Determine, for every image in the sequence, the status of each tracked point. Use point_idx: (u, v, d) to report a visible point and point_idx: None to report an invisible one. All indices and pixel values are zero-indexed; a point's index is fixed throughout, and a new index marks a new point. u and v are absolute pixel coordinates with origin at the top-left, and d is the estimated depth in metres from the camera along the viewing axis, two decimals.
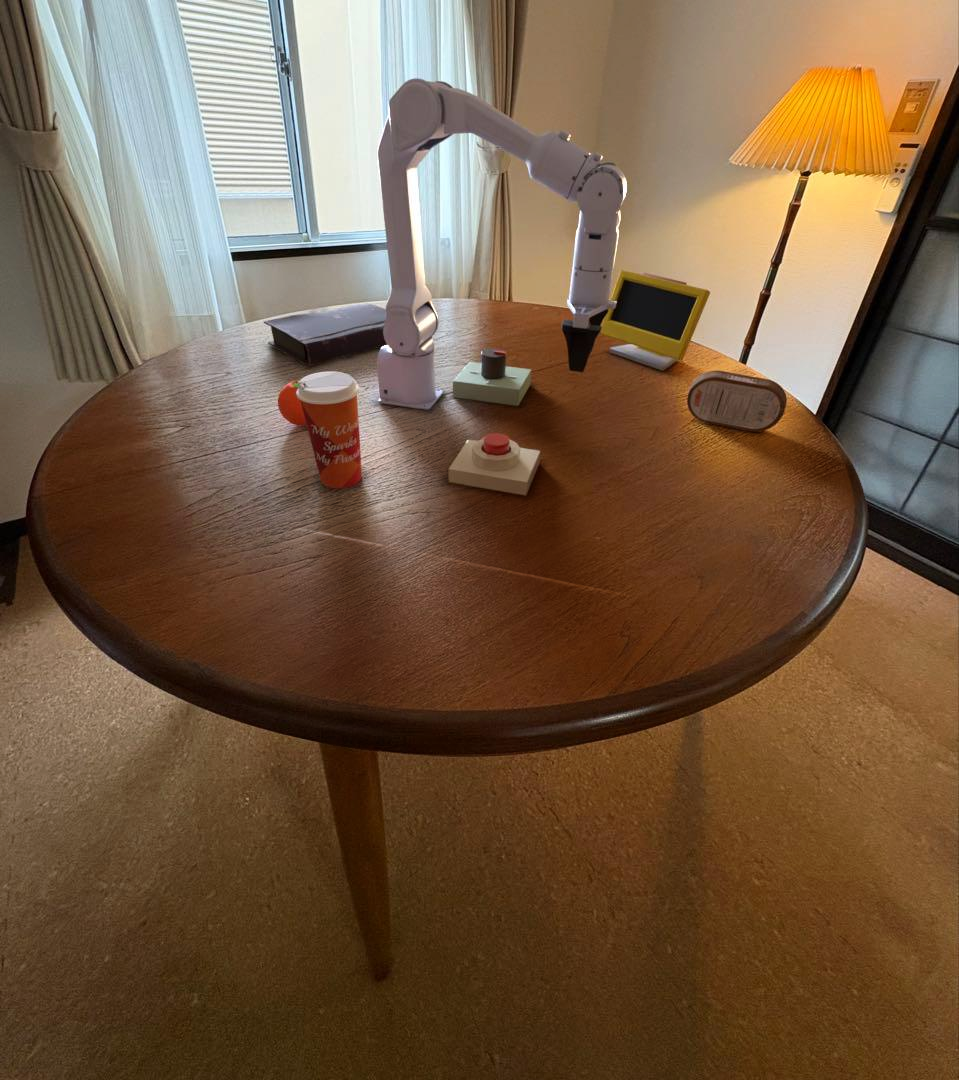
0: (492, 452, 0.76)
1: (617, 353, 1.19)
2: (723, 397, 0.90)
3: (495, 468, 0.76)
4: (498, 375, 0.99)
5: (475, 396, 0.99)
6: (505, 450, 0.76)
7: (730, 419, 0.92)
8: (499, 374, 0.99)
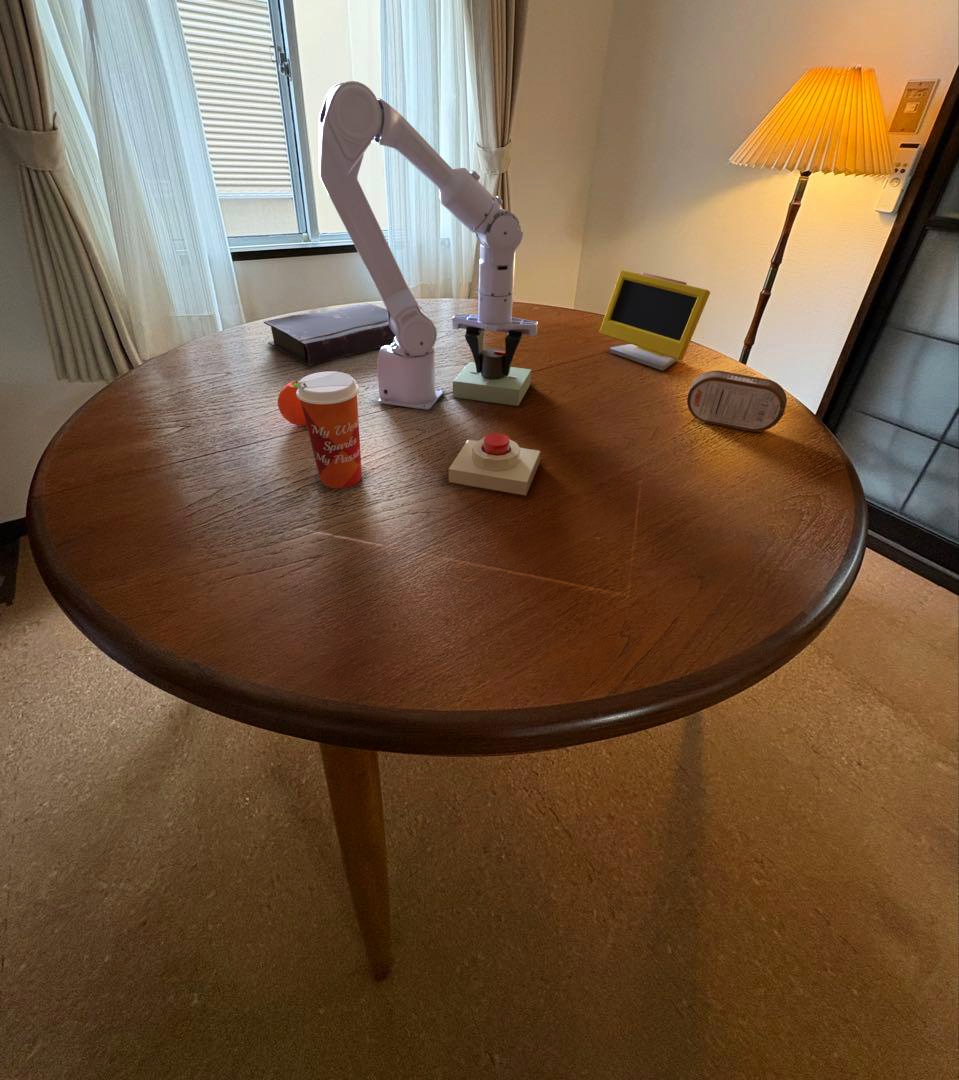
0: (492, 452, 0.76)
1: (617, 353, 1.19)
2: (723, 397, 0.90)
3: (495, 468, 0.76)
4: (498, 375, 0.99)
5: (475, 396, 0.99)
6: (505, 450, 0.76)
7: (730, 419, 0.92)
8: (499, 374, 0.99)
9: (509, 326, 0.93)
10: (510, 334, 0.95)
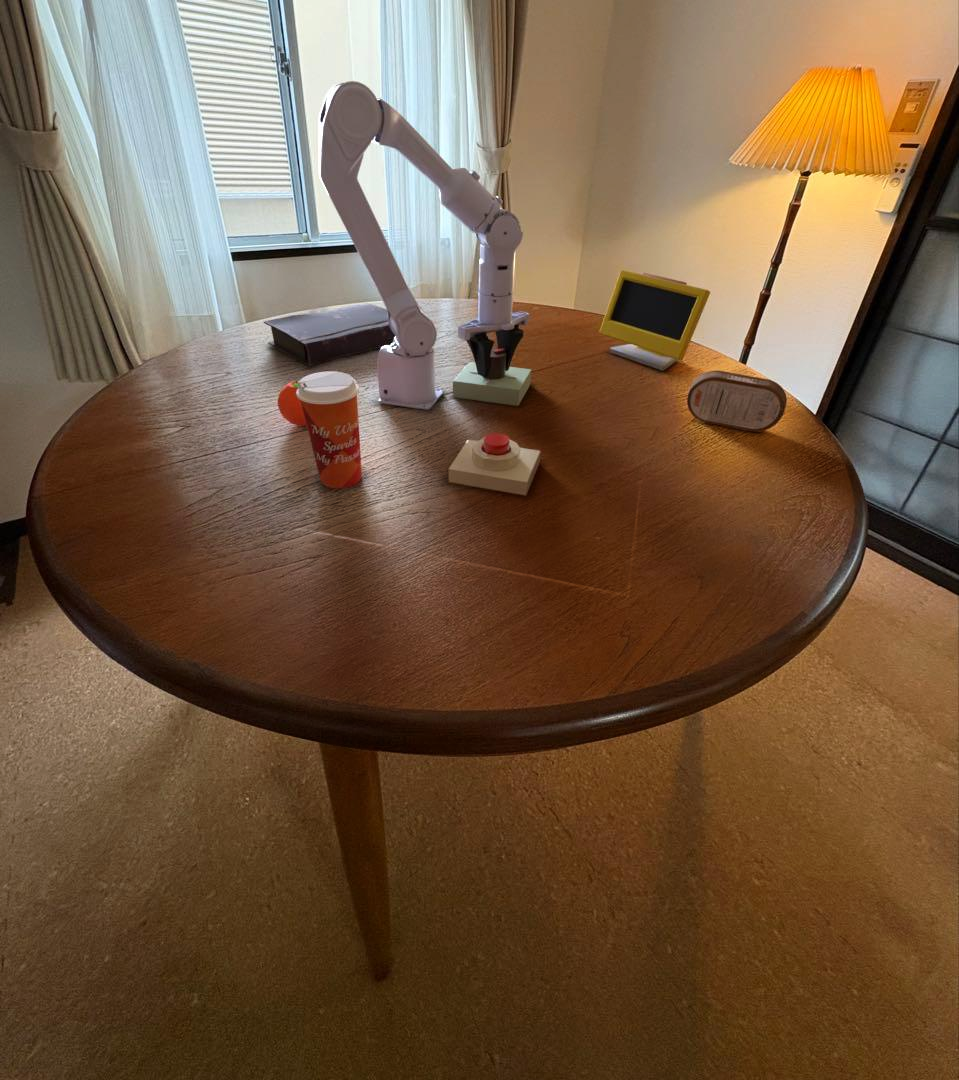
0: (492, 452, 0.76)
1: (617, 353, 1.19)
2: (723, 397, 0.90)
3: (495, 468, 0.76)
4: None
5: (475, 396, 0.99)
6: (505, 450, 0.76)
7: (730, 419, 0.92)
8: (505, 370, 1.00)
9: (516, 321, 0.95)
10: (510, 329, 0.97)
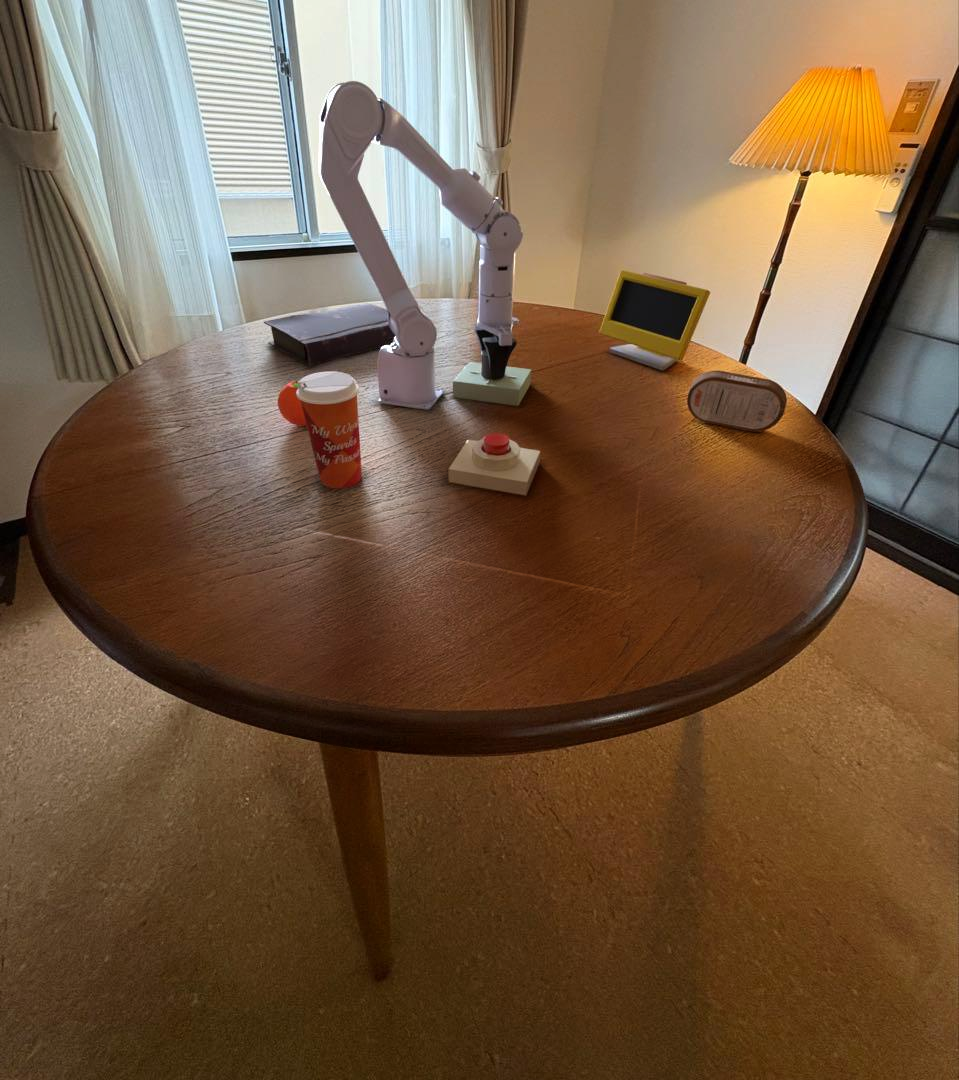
0: (492, 452, 0.76)
1: (617, 353, 1.19)
2: (723, 397, 0.90)
3: (495, 468, 0.76)
4: None
5: (475, 396, 0.99)
6: (505, 450, 0.76)
7: (730, 419, 0.92)
8: None
9: None
10: None
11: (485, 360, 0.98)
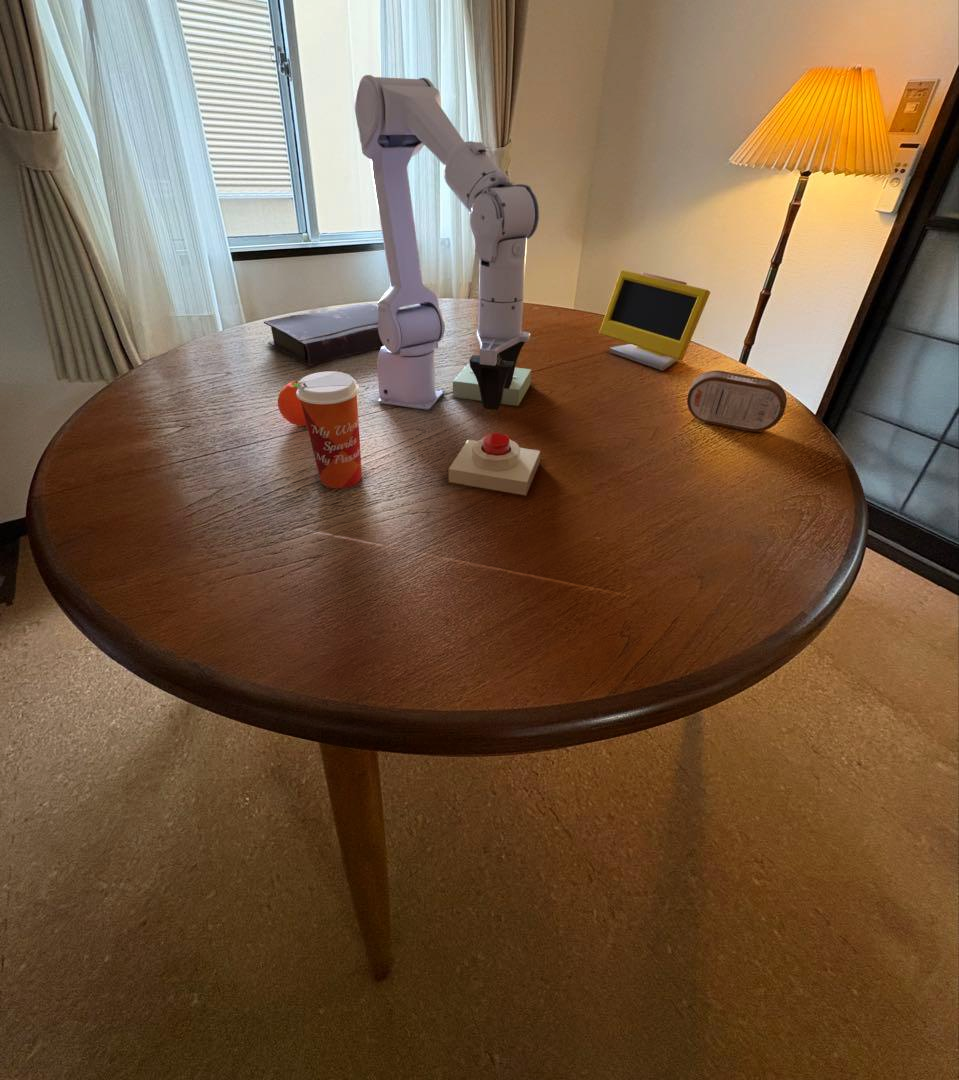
0: (492, 452, 0.76)
1: (617, 353, 1.19)
2: (723, 397, 0.90)
3: (495, 468, 0.76)
4: None
5: (475, 396, 0.99)
6: (505, 450, 0.76)
7: (730, 419, 0.92)
8: None
9: None
10: None
11: None
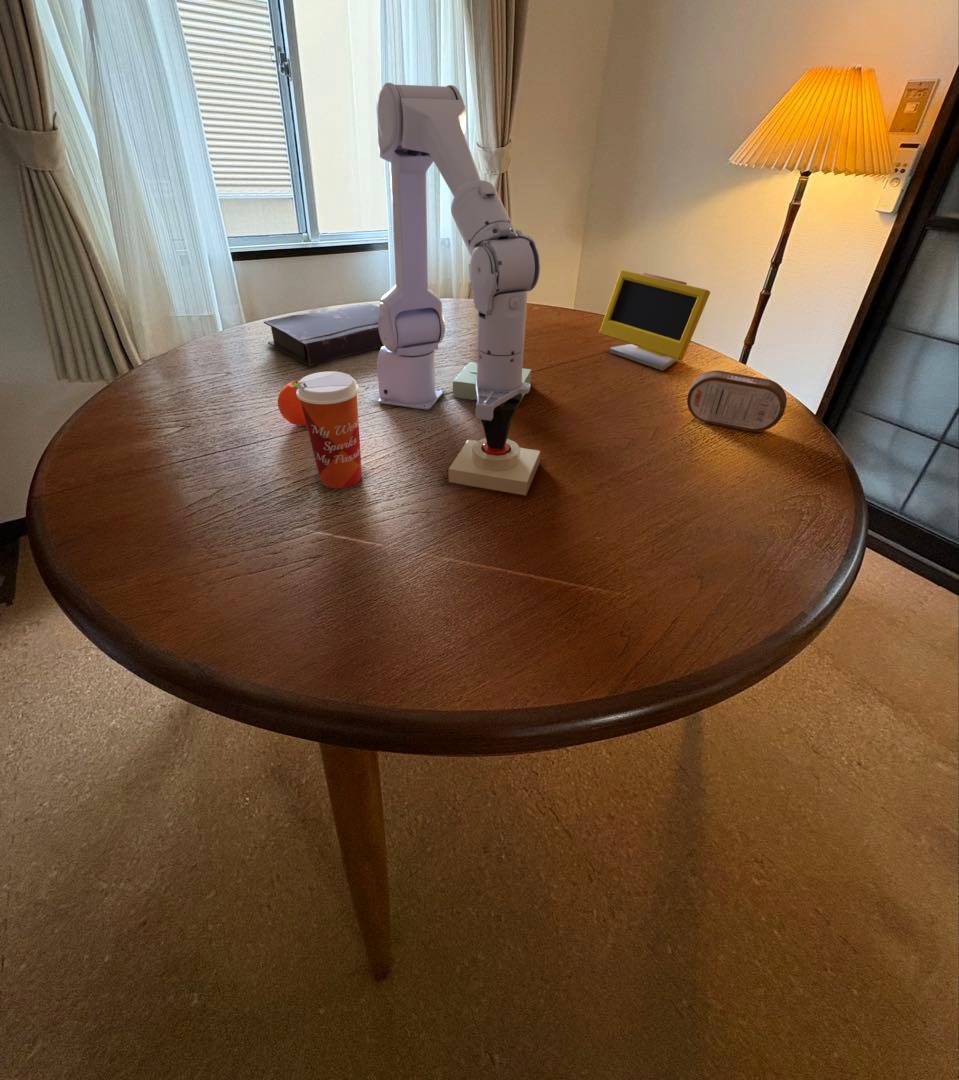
0: None
1: (617, 353, 1.19)
2: (723, 397, 0.90)
3: (495, 468, 0.76)
4: None
5: (475, 396, 0.99)
6: None
7: (730, 419, 0.92)
8: None
9: None
10: None
11: None
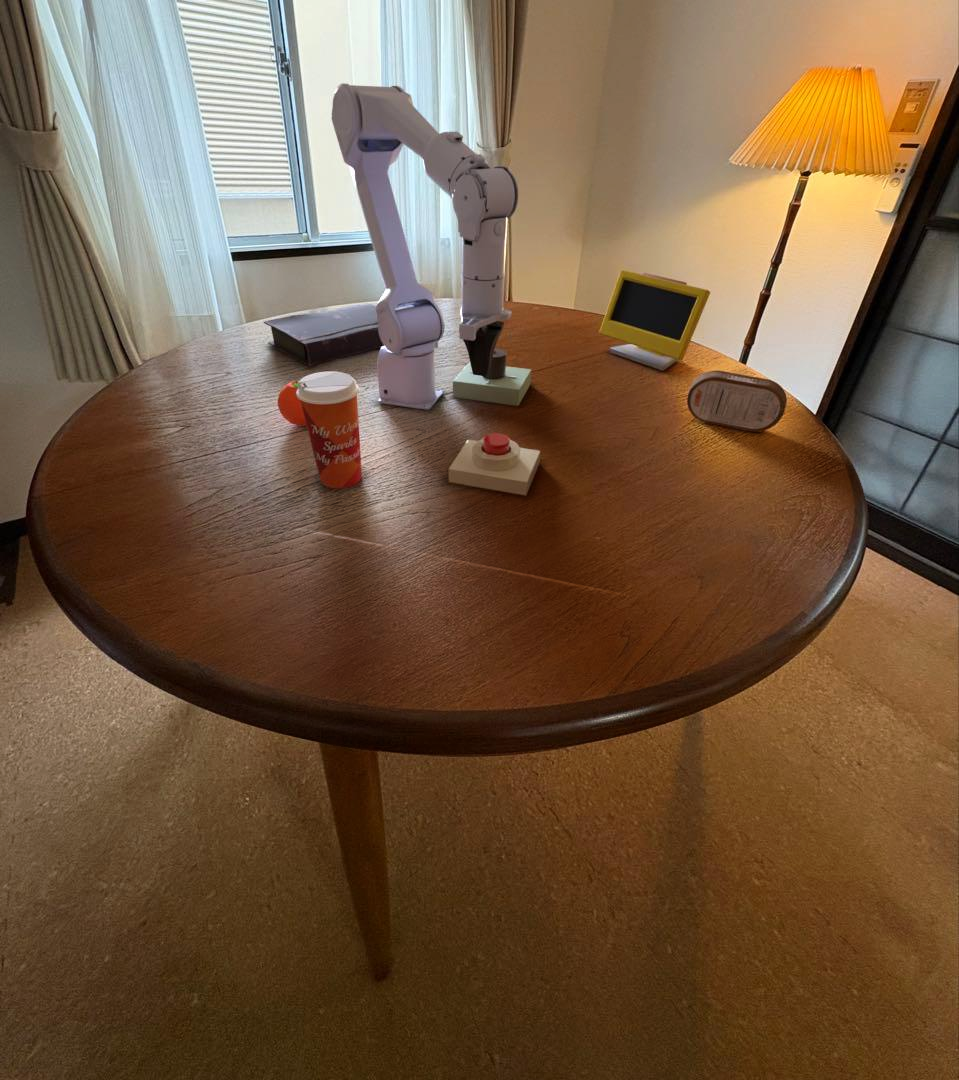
0: (492, 452, 0.76)
1: (617, 353, 1.19)
2: (723, 397, 0.90)
3: (495, 468, 0.76)
4: None
5: (475, 396, 0.99)
6: (505, 450, 0.76)
7: (730, 419, 0.92)
8: None
9: None
10: None
11: None
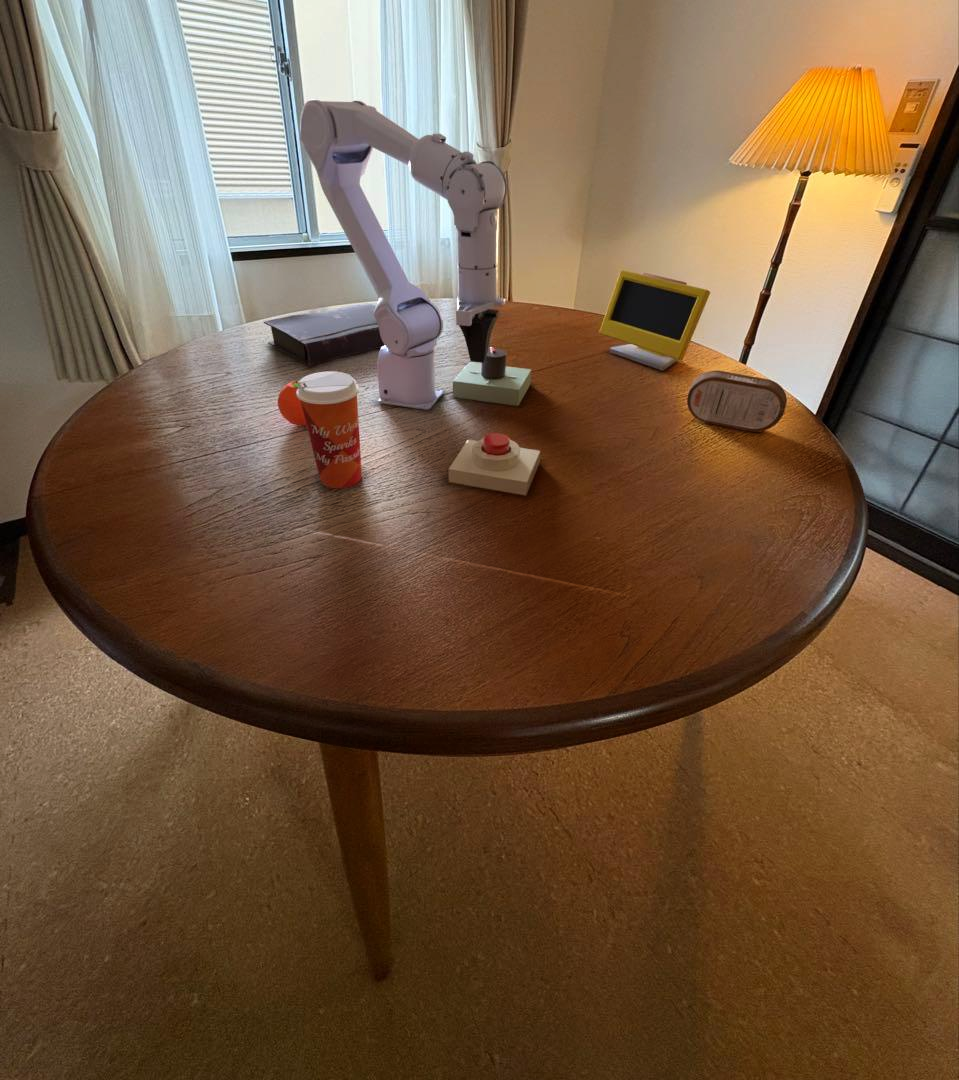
0: (492, 452, 0.76)
1: (617, 353, 1.19)
2: (723, 397, 0.90)
3: (495, 468, 0.76)
4: None
5: (475, 396, 0.99)
6: (505, 450, 0.76)
7: (730, 419, 0.92)
8: None
9: (497, 296, 0.84)
10: (485, 311, 0.83)
11: (485, 360, 0.98)
